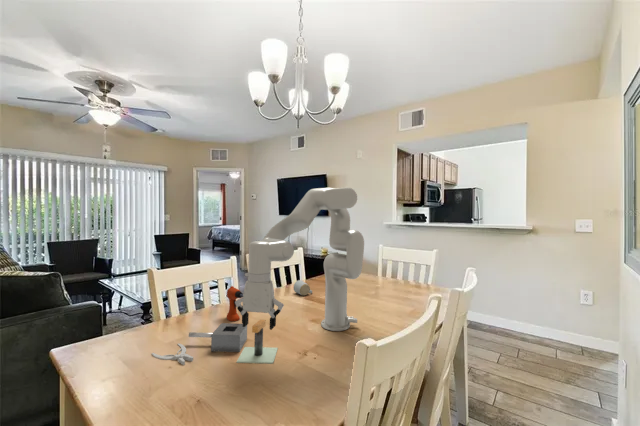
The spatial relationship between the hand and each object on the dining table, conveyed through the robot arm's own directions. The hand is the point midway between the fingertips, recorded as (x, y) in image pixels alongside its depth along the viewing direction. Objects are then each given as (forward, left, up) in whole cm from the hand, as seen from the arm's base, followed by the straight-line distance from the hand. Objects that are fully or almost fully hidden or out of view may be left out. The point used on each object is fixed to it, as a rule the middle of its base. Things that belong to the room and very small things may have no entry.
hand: (258, 326), depth 99 cm
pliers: (+27, +1, -10) cm, 30 cm away
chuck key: (0, 0, -9) cm, 9 cm away
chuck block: (+17, -7, -10) cm, 21 cm away
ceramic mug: (-11, -73, -10) cm, 75 cm away
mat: (0, 0, -10) cm, 10 cm away
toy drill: (+16, -29, -10) cm, 35 cm away
